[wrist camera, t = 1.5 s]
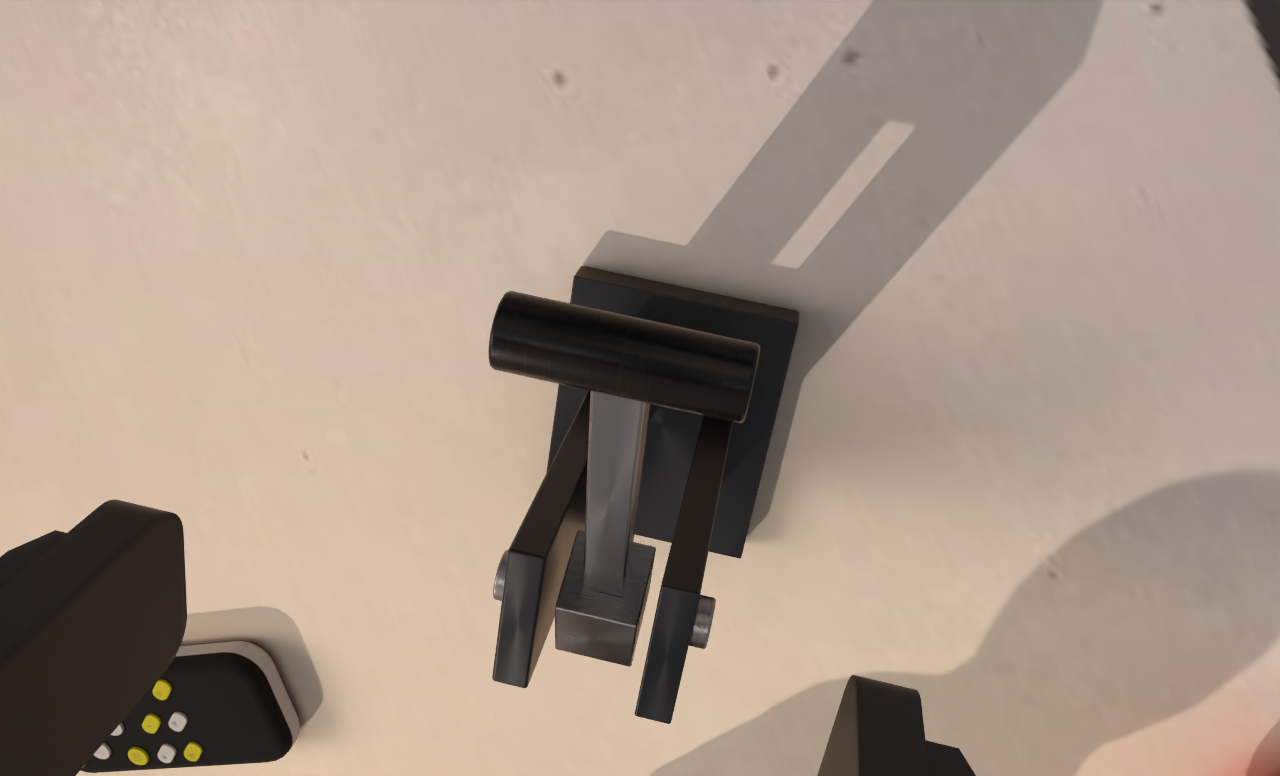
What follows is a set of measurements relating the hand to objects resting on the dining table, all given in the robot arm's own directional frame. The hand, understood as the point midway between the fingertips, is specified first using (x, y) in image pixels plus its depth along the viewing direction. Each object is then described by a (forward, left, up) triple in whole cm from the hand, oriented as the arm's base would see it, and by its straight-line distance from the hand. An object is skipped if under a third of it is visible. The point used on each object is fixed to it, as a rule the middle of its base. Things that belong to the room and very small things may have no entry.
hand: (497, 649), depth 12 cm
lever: (+4, +3, -13) cm, 13 cm away
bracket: (+8, +6, -26) cm, 28 cm away
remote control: (+37, +2, -26) cm, 45 cm away
